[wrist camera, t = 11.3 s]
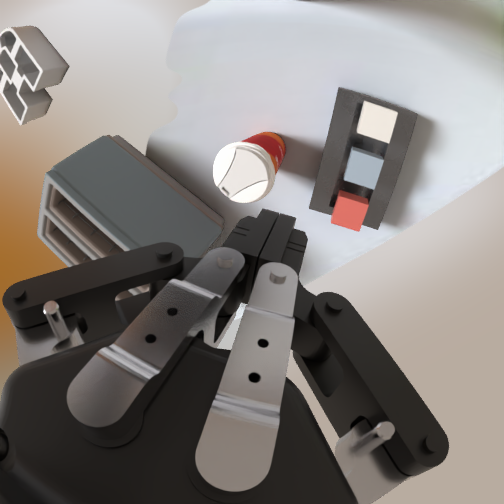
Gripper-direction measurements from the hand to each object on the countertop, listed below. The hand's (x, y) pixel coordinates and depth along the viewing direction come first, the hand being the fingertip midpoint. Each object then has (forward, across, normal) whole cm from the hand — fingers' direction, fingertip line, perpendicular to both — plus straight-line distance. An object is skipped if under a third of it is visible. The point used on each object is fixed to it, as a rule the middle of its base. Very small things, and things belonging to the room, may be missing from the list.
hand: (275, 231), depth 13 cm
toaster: (+37, +29, +25) cm, 53 cm away
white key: (+34, -7, -3) cm, 35 cm away
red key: (+34, -7, +11) cm, 36 cm away
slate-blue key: (+34, -7, +4) cm, 35 cm away
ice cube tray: (+38, +72, -9) cm, 81 cm away
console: (+37, -7, +4) cm, 38 cm away
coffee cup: (+37, +8, +7) cm, 39 cm away
